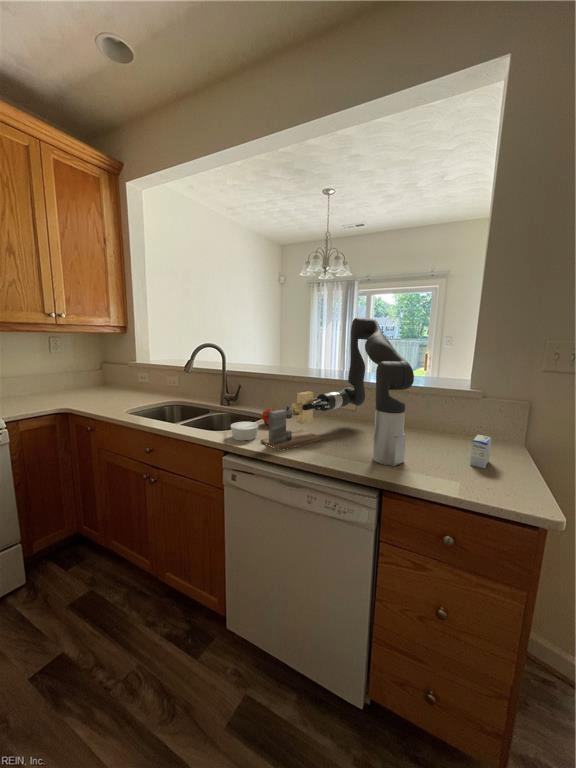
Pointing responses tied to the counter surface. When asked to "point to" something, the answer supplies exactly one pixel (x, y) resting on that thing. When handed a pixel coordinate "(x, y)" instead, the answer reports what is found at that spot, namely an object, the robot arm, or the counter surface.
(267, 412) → the dragon fruit
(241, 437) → the ramekin
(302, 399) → the pale yellow flat block
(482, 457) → the medicine box
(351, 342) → the robot arm
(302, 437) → the hinge base
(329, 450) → the counter surface
